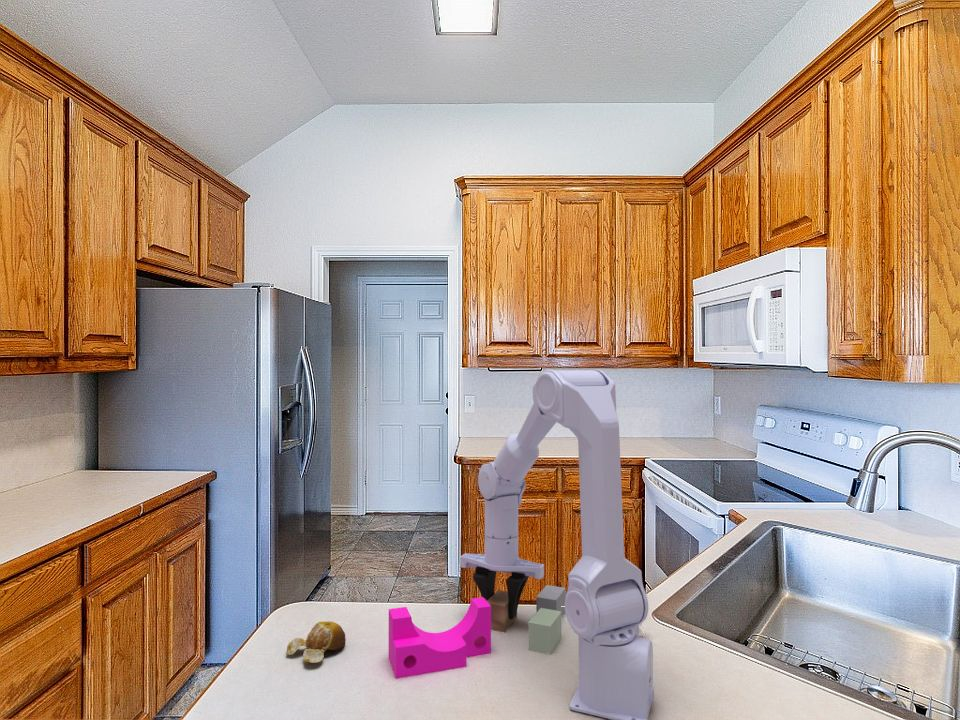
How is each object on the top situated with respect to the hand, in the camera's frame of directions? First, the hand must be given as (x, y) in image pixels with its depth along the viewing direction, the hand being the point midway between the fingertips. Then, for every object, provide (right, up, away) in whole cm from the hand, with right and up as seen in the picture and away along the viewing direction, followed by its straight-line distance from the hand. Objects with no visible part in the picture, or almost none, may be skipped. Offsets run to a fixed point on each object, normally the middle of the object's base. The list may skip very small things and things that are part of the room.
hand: (501, 614), depth 100 cm
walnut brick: (0, -2, 0) cm, 2 cm away
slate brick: (+9, -2, +3) cm, 9 cm away
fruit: (-30, -3, -13) cm, 33 cm away
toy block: (-9, -2, -12) cm, 15 cm away
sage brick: (+7, -2, -7) cm, 10 cm away
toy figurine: (+20, -2, -5) cm, 21 cm away
